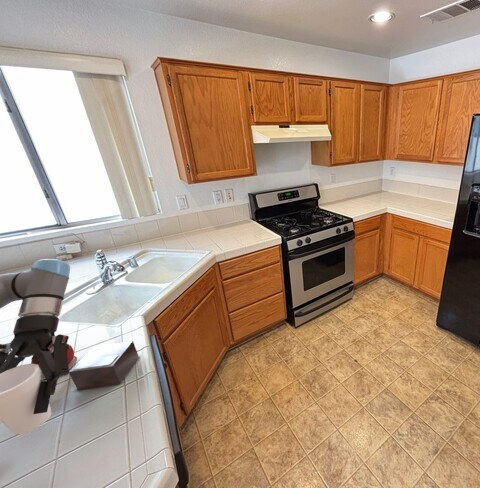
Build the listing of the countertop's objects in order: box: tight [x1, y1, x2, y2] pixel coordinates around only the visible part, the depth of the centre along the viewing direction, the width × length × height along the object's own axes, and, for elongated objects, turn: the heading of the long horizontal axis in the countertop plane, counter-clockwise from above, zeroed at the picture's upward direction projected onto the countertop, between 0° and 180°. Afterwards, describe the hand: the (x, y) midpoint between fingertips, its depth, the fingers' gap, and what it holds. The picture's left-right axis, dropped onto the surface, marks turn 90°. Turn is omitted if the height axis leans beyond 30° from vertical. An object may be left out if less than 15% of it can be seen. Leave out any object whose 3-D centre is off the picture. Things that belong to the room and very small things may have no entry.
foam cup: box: [0, 363, 53, 436], centre depth 60 cm, size 10×9×13 cm
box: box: [68, 340, 140, 391], centre depth 83 cm, size 12×11×7 cm
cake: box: [30, 343, 78, 379], centre depth 84 cm, size 11×9×18 cm
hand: (13, 418), depth 58 cm, fingers closed on foam cup, 9 cm apart
